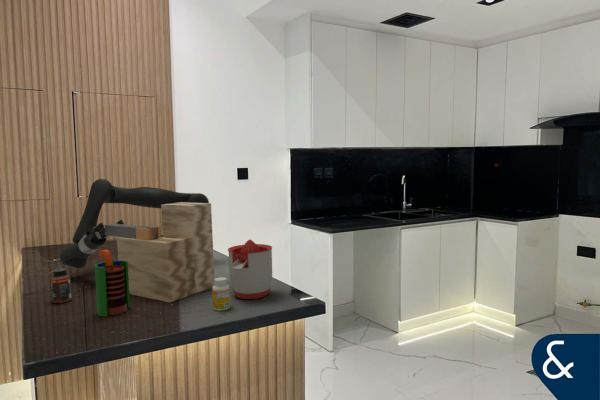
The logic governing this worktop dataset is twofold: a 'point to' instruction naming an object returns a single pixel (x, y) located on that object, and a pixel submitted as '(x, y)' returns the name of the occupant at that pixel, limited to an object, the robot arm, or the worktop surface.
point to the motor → (111, 285)
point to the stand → (172, 255)
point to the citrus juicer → (250, 270)
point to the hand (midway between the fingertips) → (112, 223)
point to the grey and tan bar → (133, 231)
